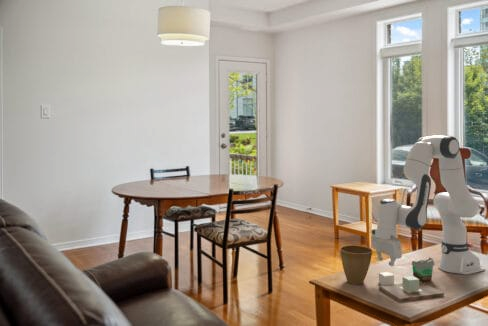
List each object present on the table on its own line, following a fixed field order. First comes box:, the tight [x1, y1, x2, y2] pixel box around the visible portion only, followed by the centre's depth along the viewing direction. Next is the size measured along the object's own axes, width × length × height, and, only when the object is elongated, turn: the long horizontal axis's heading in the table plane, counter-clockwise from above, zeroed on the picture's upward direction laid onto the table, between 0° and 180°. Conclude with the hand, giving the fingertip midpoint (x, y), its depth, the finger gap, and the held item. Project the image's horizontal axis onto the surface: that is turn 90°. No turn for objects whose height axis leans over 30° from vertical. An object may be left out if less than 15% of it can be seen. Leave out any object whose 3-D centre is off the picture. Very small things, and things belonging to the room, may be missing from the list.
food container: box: [411, 257, 435, 284], centre depth 225 cm, size 12×6×10 cm, turn 118°
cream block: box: [378, 271, 395, 286], centre depth 222 cm, size 5×5×5 cm
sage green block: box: [402, 275, 419, 292], centre depth 210 cm, size 5×5×5 cm
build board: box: [378, 281, 445, 303], centre depth 210 cm, size 22×16×2 cm
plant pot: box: [339, 244, 373, 285], centre depth 225 cm, size 15×15×16 cm
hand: (385, 262), depth 221 cm, fingers open, 8 cm apart
